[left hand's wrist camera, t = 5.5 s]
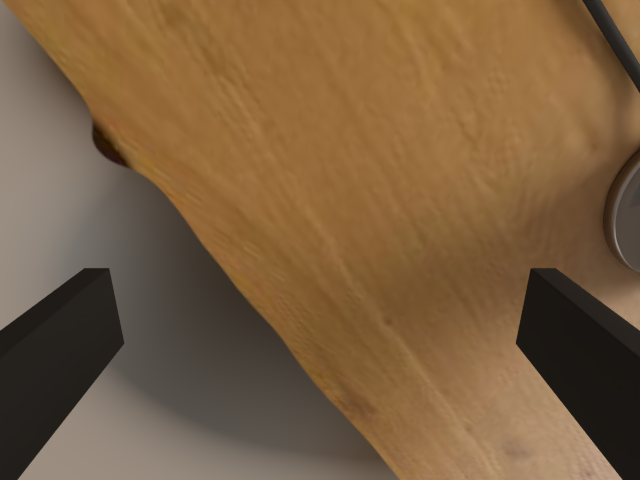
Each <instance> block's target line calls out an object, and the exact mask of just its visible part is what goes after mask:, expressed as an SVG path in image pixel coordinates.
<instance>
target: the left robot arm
mask: <svg viewBox="0 0 640 480" xmlns="http://www.w3.org/2000/svg"><path fill="white" fill-rule="evenodd" d="M583 2H584V4H585V5H586V7H587V9H588V10H589V12H590V14H591V15H592V17H593V19H594V20H595V22H596V23H597V25H598V27H599V28H600V30H601V32H602V33H603V35H604V36H605V38H606V40H607V41H608V43H609V44H610V46H611V48H612V49H613V51H614V52H615V54H616V55H617V57H618V59H619V60H620V62H621V63H622V65H623V67H624V68H625V70H626V71H627V73H628V75H629V76H630V78H631V79H632V81H633V83H634V84H635V86H636V87H637V89H638V91H639V92H640V64H639V62H638V61H637V59H636V57H635V56H634V54H633V53H632V51H631V49H630V48H629V46H628V45H627V43H626V41H625V40H624V38H623V36H622V35H621V33H620V32H619V30H618V28H617V27H616V25H615V23H614V22H613V20H612V18H611V17H610V15H609V13H608V12H607V10H606V8H605V7H604V5H603V3H602V1H601V0H583ZM603 225H604V233H605V237H606V241H607V243H608V246H609V248H610V249H611V251H612V253H613V254H614V255H615V257H616V258H617V259H618V260H619V261H620V262H621V263H623V264H624V265H625V266H627V267H628V268H630V269H632V270H634V271H635V272H637V273H639V274H640V150H639V151H638V152H637V153H636V154H635V155H634V156H633V157H632V158H631V159H630V160H629V161H628V163H627V164H626V165H625V166H624V168H623V169H622V170H621V172H620V173H619V175H618V176H617V178H616V180H615V181H614V183H613V185H612V187H611V189H610V192H609V195H608V197H607V201H606V204H605V209H604V218H603ZM123 344H124V340H123V335H122V330H121V325H120V320H119V315H118V310H117V305H116V300H115V295H114V290H113V285H112V280H111V275H110V270H109V268H84V269H83V270H82V271H80V272H79V273H78V274H76V275H75V276H73V277H72V278H71V279H69V280H68V281H67V282H65V283H64V284H63V285H61V286H60V287H59V288H57V289H56V290H55V291H53V292H52V293H51V294H49V295H48V296H46V297H45V298H44V299H42V300H41V301H40V302H38V303H37V304H36V305H34V306H33V307H32V308H30V309H29V310H28V311H26V312H25V313H24V314H22V315H21V316H20V317H18V318H17V319H15V320H14V321H13V322H11V323H10V324H9V325H7V326H6V327H5V328H3V329H2V330H1V331H0V480H18V478H19V477H20V476H21V474H22V473H23V472H24V471H25V469H26V468H27V467H28V466H29V464H30V463H31V462H32V460H33V459H34V458H35V457H36V455H37V454H38V453H39V452H40V450H41V449H42V448H43V446H44V445H45V444H46V442H47V441H48V440H49V439H50V437H51V436H52V435H53V434H54V432H55V431H56V430H57V429H58V427H59V426H60V425H61V423H62V422H63V421H64V420H65V418H66V417H67V416H68V414H69V413H70V412H71V411H72V409H73V408H74V407H75V406H76V404H77V403H78V402H79V401H80V399H81V398H82V397H83V395H84V394H85V393H86V392H87V390H88V389H89V388H90V386H91V385H92V384H93V383H94V381H95V380H96V379H97V378H98V376H99V375H100V374H101V372H102V371H103V370H104V369H105V367H106V366H107V365H108V364H109V362H110V361H111V360H112V358H113V357H114V356H115V355H116V353H117V352H118V351H119V349H120V348H121V347H122V346H123ZM516 344H517V346H518V347H519V348H520V349H521V351H522V352H523V353H524V355H525V356H526V357H527V358H528V360H529V361H530V362H531V364H532V365H533V366H534V367H535V369H536V370H537V371H538V372H539V374H540V375H541V376H542V378H543V379H544V380H545V381H546V383H547V384H548V385H549V386H550V388H551V389H552V390H553V392H554V393H555V394H556V395H557V397H558V398H559V399H560V401H561V402H562V403H563V404H564V406H565V407H566V408H567V409H568V411H569V412H570V413H571V415H572V416H573V417H574V418H575V420H576V421H577V422H578V423H579V425H580V426H581V427H582V429H583V430H584V431H585V432H586V434H587V435H588V436H589V437H590V439H591V440H592V441H593V443H594V444H595V445H596V446H597V448H598V449H599V450H600V452H601V453H602V454H603V455H604V457H605V458H606V459H607V460H608V462H609V463H610V464H611V466H612V467H613V468H614V469H615V471H616V472H617V473H618V474H619V476H620V477H621V478H622V480H640V331H639V330H638V329H637V328H635V327H634V326H633V325H631V324H630V323H629V322H627V321H626V320H625V319H623V318H622V317H621V316H619V315H618V314H616V313H615V312H614V311H612V310H611V309H610V308H608V307H607V306H606V305H604V304H603V303H602V302H600V301H599V300H598V299H596V298H595V297H594V296H592V295H591V294H589V293H588V292H587V291H585V290H584V289H583V288H581V287H580V286H579V285H577V284H576V283H575V282H573V281H572V280H571V279H569V278H568V277H567V276H565V275H564V274H563V273H561V272H560V271H558V270H557V269H556V268H531V270H530V275H529V280H528V285H527V290H526V295H525V300H524V305H523V310H522V315H521V320H520V325H519V330H518V335H517V340H516Z"/></svg>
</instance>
